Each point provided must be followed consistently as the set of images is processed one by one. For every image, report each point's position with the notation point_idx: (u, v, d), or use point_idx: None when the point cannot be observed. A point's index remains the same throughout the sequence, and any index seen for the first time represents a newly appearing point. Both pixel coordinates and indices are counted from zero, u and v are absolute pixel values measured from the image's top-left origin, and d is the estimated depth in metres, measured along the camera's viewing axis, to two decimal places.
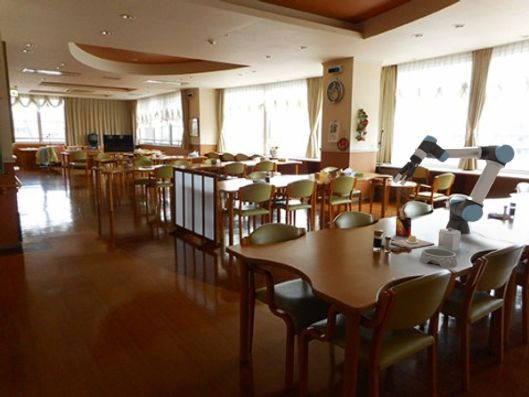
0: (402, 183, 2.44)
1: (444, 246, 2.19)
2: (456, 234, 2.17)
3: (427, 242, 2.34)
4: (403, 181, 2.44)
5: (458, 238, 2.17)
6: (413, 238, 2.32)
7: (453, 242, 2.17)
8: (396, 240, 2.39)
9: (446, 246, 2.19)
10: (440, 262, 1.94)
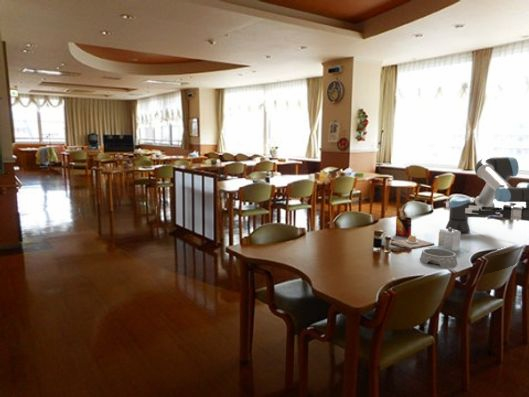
0: None
1: (444, 246, 2.19)
2: (456, 234, 2.17)
3: (427, 242, 2.34)
4: None
5: (458, 238, 2.17)
6: (413, 238, 2.32)
7: (453, 242, 2.17)
8: (396, 240, 2.39)
9: (446, 246, 2.19)
10: (440, 262, 1.94)
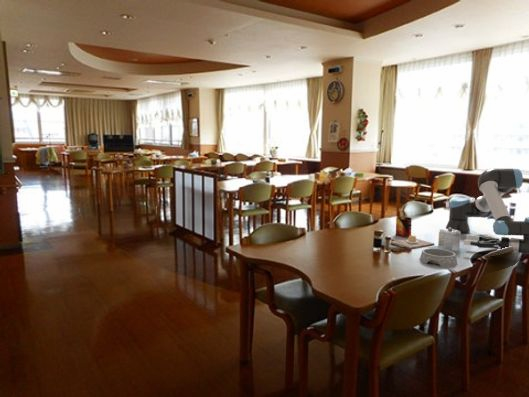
0: None
1: (444, 246, 2.19)
2: (456, 234, 2.17)
3: (427, 242, 2.34)
4: None
5: (458, 238, 2.17)
6: (413, 238, 2.32)
7: (453, 242, 2.17)
8: (396, 240, 2.39)
9: (446, 246, 2.19)
10: (440, 262, 1.94)
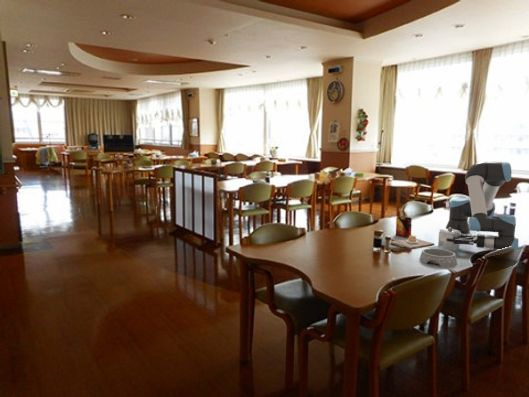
0: None
1: (444, 246, 2.19)
2: (456, 234, 2.17)
3: (427, 242, 2.34)
4: None
5: None
6: (413, 238, 2.32)
7: None
8: (396, 240, 2.39)
9: (446, 246, 2.19)
10: (440, 262, 1.94)
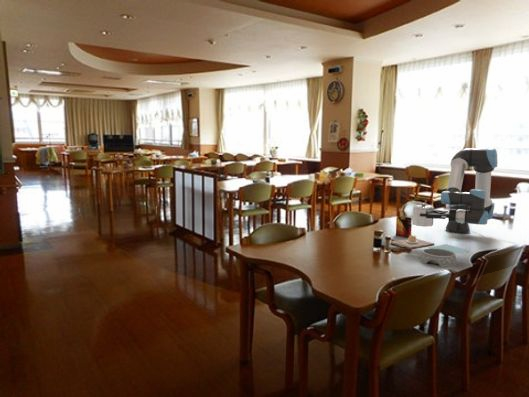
0: None
1: (418, 221, 2.24)
2: (429, 209, 2.22)
3: (427, 242, 2.34)
4: None
5: None
6: (413, 238, 2.32)
7: None
8: (396, 240, 2.39)
9: (419, 221, 2.24)
10: (440, 262, 1.94)
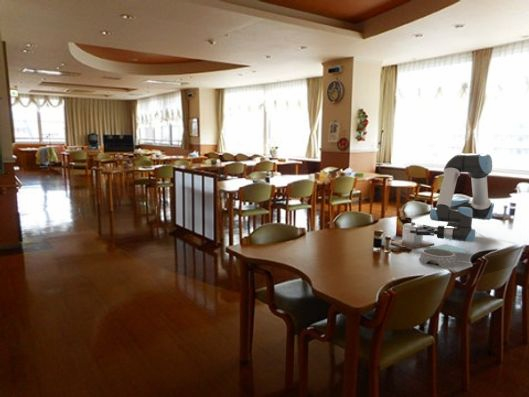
0: None
1: (407, 239, 2.30)
2: (418, 228, 2.28)
3: (427, 242, 2.34)
4: None
5: None
6: None
7: (415, 236, 2.28)
8: (396, 240, 2.39)
9: (409, 239, 2.30)
10: (439, 262, 1.94)
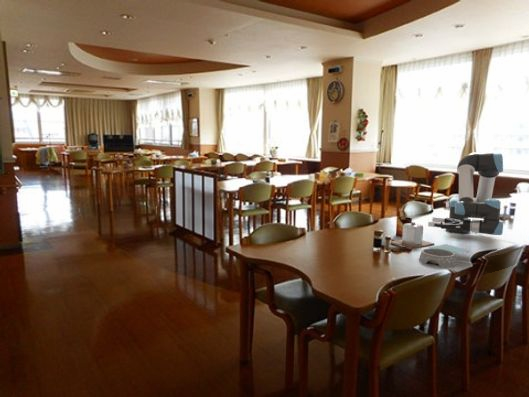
0: None
1: (407, 239, 2.30)
2: (418, 228, 2.28)
3: (427, 242, 2.34)
4: None
5: (420, 232, 2.28)
6: None
7: (415, 236, 2.28)
8: (396, 240, 2.39)
9: (409, 239, 2.30)
10: (439, 262, 1.94)
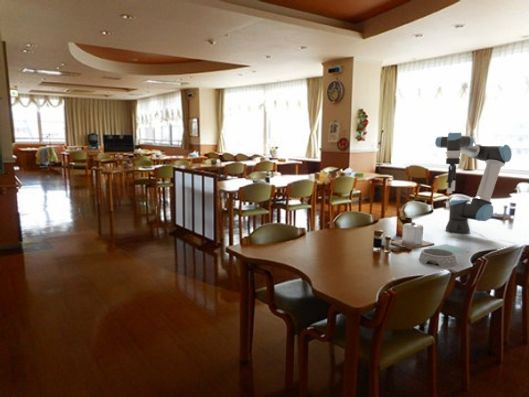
0: (449, 191, 2.31)
1: (407, 239, 2.30)
2: (418, 228, 2.28)
3: (427, 242, 2.34)
4: (449, 189, 2.31)
5: (420, 232, 2.28)
6: None
7: (415, 236, 2.28)
8: (396, 240, 2.39)
9: (409, 239, 2.30)
10: (439, 262, 1.94)
